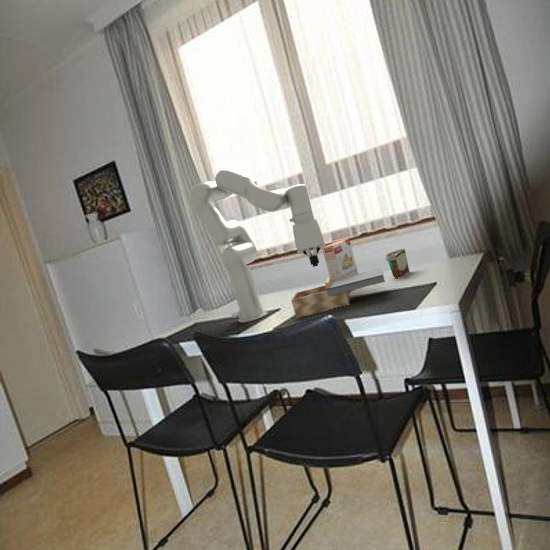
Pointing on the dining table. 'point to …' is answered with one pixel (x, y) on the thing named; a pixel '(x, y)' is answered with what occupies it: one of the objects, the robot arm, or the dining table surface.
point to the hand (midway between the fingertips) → (315, 265)
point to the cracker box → (340, 260)
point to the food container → (398, 263)
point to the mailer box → (317, 301)
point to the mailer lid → (354, 282)
